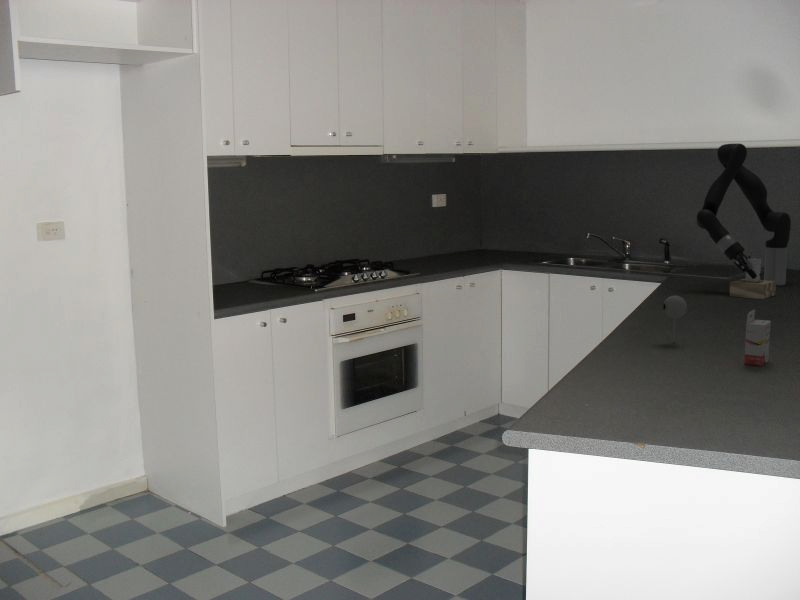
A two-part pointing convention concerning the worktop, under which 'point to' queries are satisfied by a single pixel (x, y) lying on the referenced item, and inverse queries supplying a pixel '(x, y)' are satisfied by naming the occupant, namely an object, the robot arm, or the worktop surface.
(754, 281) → the grey square pillar
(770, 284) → the well block
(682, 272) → the worktop surface
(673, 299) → the lollipop
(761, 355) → the ink cartridge box
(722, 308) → the worktop surface
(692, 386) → the worktop surface
